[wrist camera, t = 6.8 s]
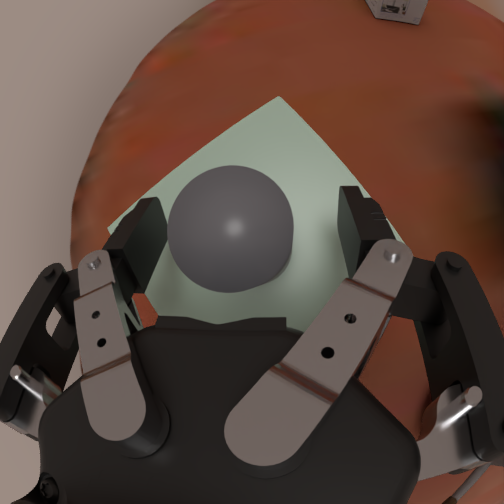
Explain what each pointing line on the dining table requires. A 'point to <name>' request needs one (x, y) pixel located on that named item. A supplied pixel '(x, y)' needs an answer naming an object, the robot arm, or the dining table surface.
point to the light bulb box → (398, 9)
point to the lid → (252, 224)
